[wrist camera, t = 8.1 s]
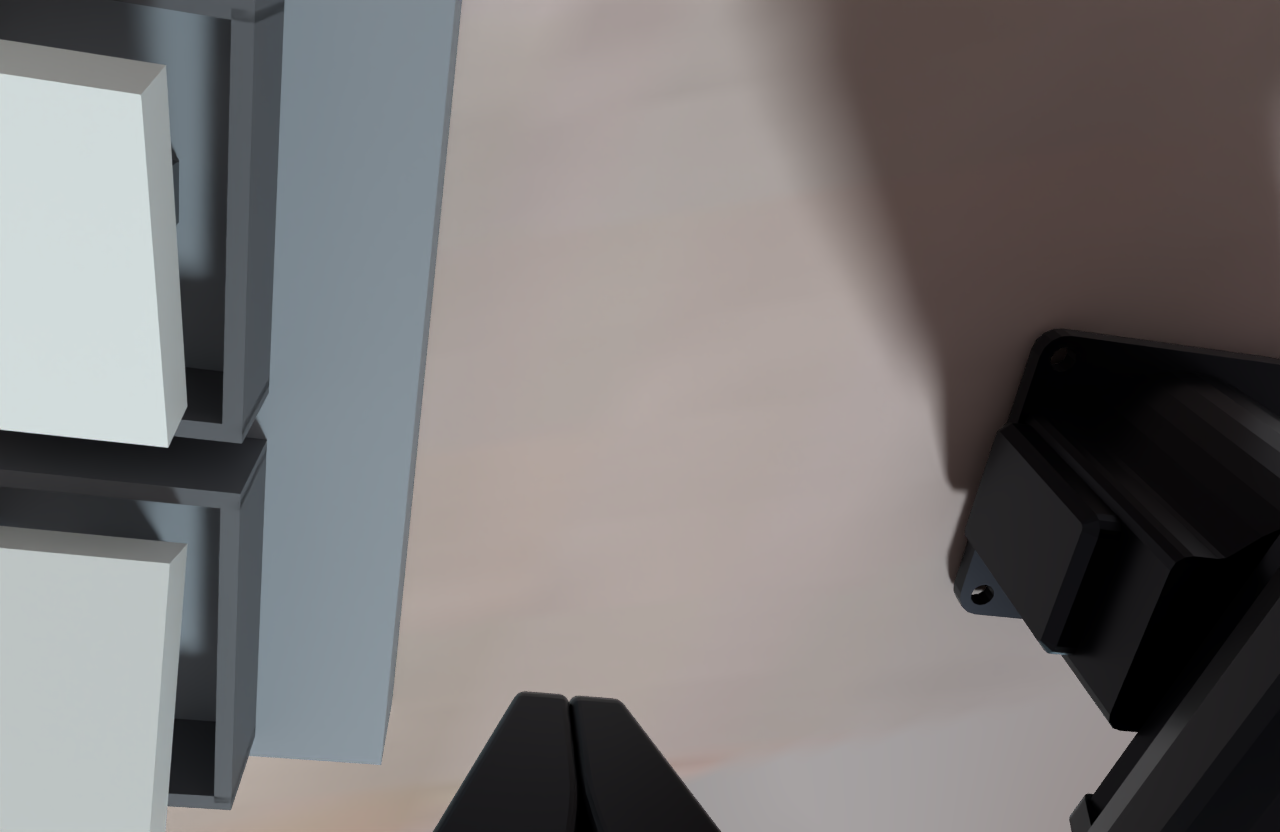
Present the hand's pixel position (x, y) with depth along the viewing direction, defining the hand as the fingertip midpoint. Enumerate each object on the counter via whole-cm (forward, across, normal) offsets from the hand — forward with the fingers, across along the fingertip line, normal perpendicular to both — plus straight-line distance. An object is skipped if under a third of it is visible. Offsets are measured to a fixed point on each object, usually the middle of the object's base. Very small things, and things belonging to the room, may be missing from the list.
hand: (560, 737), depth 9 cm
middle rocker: (+8, +7, -1) cm, 11 cm away
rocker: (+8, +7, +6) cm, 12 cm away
